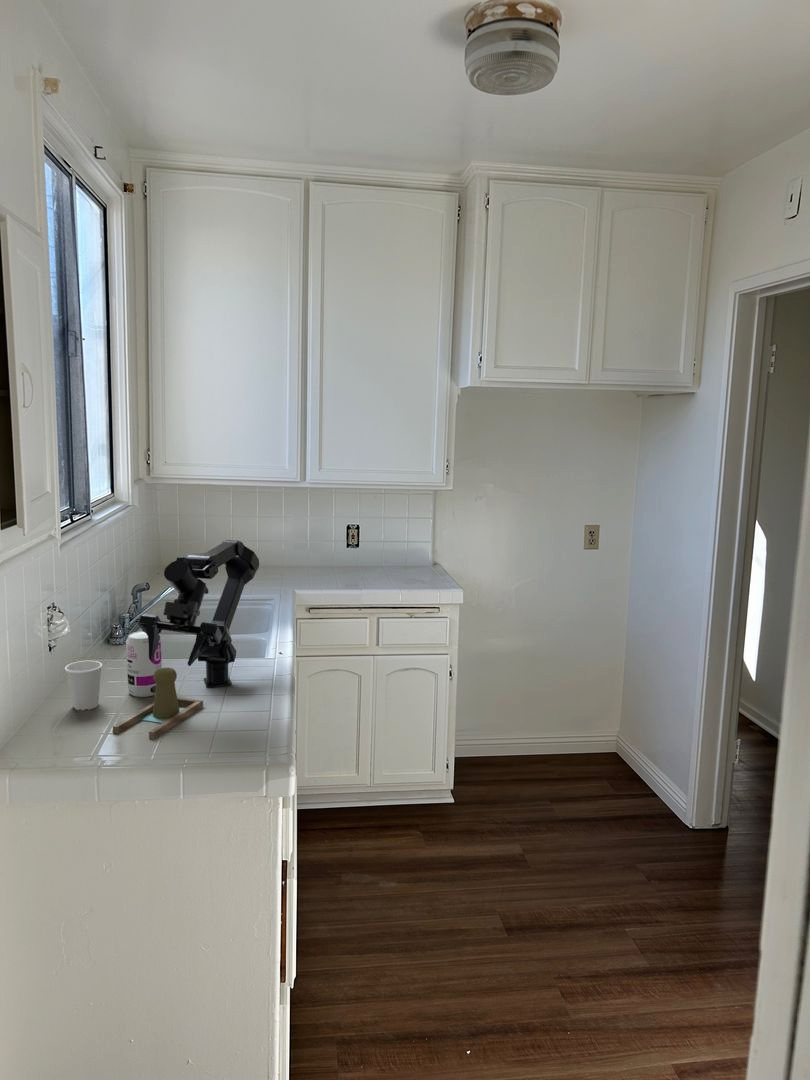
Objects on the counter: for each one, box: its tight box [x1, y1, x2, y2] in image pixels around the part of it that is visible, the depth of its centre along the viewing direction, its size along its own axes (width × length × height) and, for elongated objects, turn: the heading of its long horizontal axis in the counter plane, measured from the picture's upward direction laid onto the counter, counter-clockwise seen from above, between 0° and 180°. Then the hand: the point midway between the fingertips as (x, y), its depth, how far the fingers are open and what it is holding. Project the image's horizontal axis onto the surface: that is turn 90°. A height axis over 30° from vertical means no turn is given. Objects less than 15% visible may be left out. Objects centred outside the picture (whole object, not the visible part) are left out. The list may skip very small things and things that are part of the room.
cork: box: [153, 667, 180, 719], centre depth 186 cm, size 6×6×11 cm
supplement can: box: [125, 630, 163, 698], centre depth 201 cm, size 8×8×15 cm
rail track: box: [112, 696, 204, 740], centre depth 185 cm, size 20×10×2 cm, turn 163°
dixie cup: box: [64, 660, 103, 711], centre depth 192 cm, size 8×8×10 cm
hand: (169, 662), depth 184 cm, fingers open, 9 cm apart
